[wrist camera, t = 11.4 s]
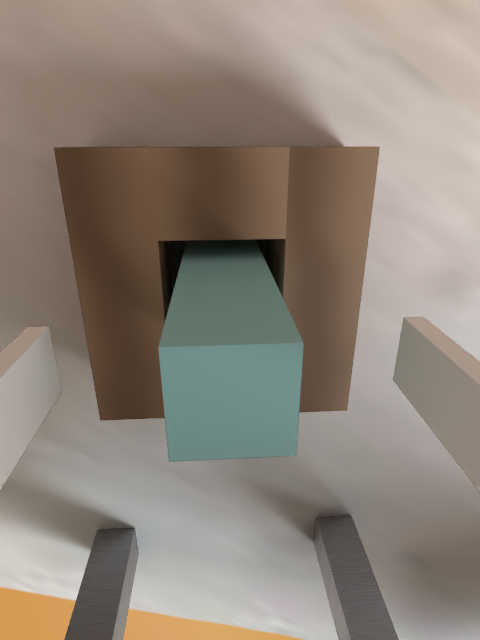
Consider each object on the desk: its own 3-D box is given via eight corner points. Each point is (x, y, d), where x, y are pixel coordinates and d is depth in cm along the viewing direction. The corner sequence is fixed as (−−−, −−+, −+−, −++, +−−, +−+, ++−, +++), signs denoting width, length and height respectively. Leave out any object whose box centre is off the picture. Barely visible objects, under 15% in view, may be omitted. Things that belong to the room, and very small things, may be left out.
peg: (254, 237, 24) (304, 343, 11) (253, 300, 26) (296, 455, 13) (187, 238, 24) (158, 347, 11) (190, 302, 25) (169, 461, 13)
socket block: (345, 146, 22) (379, 146, 18) (324, 366, 28) (346, 410, 23) (87, 147, 21) (53, 147, 17) (119, 373, 27) (100, 420, 22)
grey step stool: (390, 388, 29) (699, 807, 11) (364, 543, 35) (528, 973, 17) (48, 401, 28) (-277, 909, 9) (85, 560, 34) (-65, 1048, 16)
